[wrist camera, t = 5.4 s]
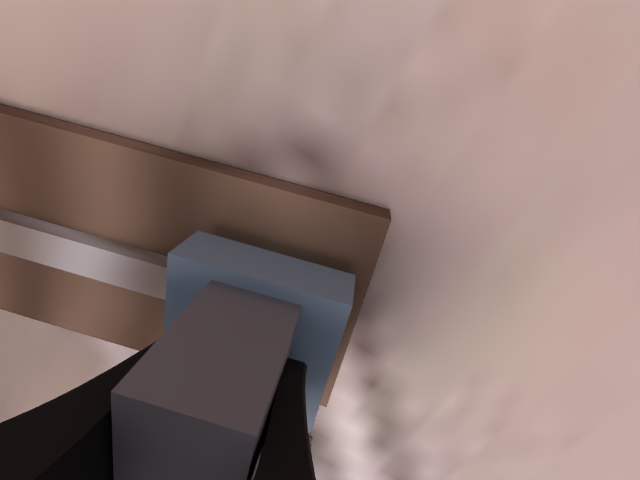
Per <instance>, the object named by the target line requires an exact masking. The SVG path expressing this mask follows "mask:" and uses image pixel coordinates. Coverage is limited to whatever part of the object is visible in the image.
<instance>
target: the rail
mask: <svg viewBox="0 0 640 480" xmlns="http://www.w3.org/2000/svg"><path fill="white" fill-rule="evenodd" d="M390 222H391V216H390V210H388V209H384V208H380V207H377V206H373V205H369V204H366V203H362V202H358V201H355V200H351V199H347V198H344V197H340V196H337V195H333V194H329V193H326V192H322V191H318V190H315V189H311V188H307V187H304V186H300V185H296V184H293V183H289V182H285V181H282V180H278V179H274V178H271V177H267V176H263V175H260V174H256V173H252V172H249V171H245V170H241V169H238V168H234V167H230V166H227V165H223V164H219V163H216V162H212V161H208V160H205V159H201V158H197V157H194V156H190V155H186V154H183V153H179V152H175V151H172V150H168V149H164V148H161V147H157V146H153V145H150V144H146V143H142V142H139V141H135V140H131V139H128V138H124V137H120V136H117V135H113V134H109V133H106V132H102V131H99V130H95V129H91V128H88V127H84V126H80V125H77V124H73V123H69V122H66V121H62V120H58V119H55V118H51V117H47V116H44V115H40V114H36V113H33V112H29V111H25V110H22V109H18V108H14V107H11V106H7V105H3V104H0V309H2V310H6V311H9V312H12V313H16V314H19V315H22V316H26V317H29V318H32V319H36V320H39V321H42V322H45V323H49V324H52V325H55V326H59V327H62V328H65V329H69V330H72V331H75V332H79V333H82V334H85V335H89V336H92V337H95V338H99V339H102V340H105V341H109V342H112V343H115V344H119V345H122V346H125V347H129V348H132V349H135V350H139V351H141V350H142V349H144V348H146V347H147V346H149V345H150V344H152V343H153V342H155V341H156V340H158V339H159V338H160V336H161V335H162V334H163V333H164V315H165V296H166V277H167V258H168V253H169V252H170V251H171V250H173V249H174V248H175V247H177V246H178V245H179V244H181V243H182V242H183V241H185V240H186V239H187V238H189V237H190V236H191V235H193V234H194V233H195V232H197V231H202V232H205V233H209V234H212V235H216V236H219V237H223V238H226V239H230V240H234V241H237V242H241V243H244V244H248V245H251V246H255V247H258V248H262V249H265V250H269V251H272V252H276V253H280V254H283V255H287V256H290V257H294V258H297V259H301V260H304V261H308V262H311V263H315V264H318V265H322V266H326V267H329V268H333V269H336V270H340V271H343V272H347V273H350V274H354V275H356V277H355V287H354V297H353V306H352V309H351V312H350V315H349V318H348V321H347V324H346V327H345V330H344V333H343V336H342V339H341V342H340V345H339V348H338V351H337V354H336V357H335V360H334V363H333V366H332V369H331V372H330V375H329V378H328V381H327V384H326V387H325V390H324V393H323V396H322V399H321V402H320V405H322V406H325V407H326V406H327V403H328V400H329V397H330V395H331V392H332V389H333V386H334V383H335V380H336V377H337V374H338V372H339V369H340V366H341V363H342V360H343V357H344V354H345V351H346V348H347V346H348V343H349V340H350V337H351V334H352V331H353V328H354V325H355V323H356V320H357V317H358V314H359V311H360V308H361V305H362V302H363V299H364V297H365V294H366V291H367V288H368V285H369V282H370V279H371V276H372V274H373V271H374V268H375V265H376V262H377V259H378V256H379V253H380V250H381V248H382V245H383V242H384V239H385V236H386V233H387V230H388V227H389V225H390Z"/></svg>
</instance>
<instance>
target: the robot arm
mask: <svg viewBox="0 0 640 480" xmlns="http://www.w3.org/2000/svg"><path fill="white" fill-rule="evenodd" d="M156 341H157V340H156ZM156 341H155V342H156ZM155 342H153V343H152V344H150V345H149V346H147V347H146V348H144V349H142V350H141V351H139V352H138V353H136V354H134V355H133V356H131V357H129V358H128V359H126V360H124V361H123V362H121V363H119V364H118V365H116V366H114V367H113V368H111V369H109V370H108V371H106V372H104V373H102V374H100V375H99V376H97V377H95V378H93V379H91V380H90V381H88V382H86V383H84V384H82V385H80V386H79V387H77V388H75V389H73V390H71V391H69V392H67V393H65V394H63V395H61V396H59V397H57V398H55V399H53V400H51V401H49V402H47V403H44V404H42V405H40V406H38V407H36V408H34V409H32V410H29V411H27V412H25V413H22V414H20V415H18V416H16V417H13V418H11V419H9V420H6V421H4V422H1V423H0V480H114V474H113V444H112V413H111V391H112V390H113V389H114V388H115V386H116V385H117V384H118V383H119V382H120V381H121V380H122V379H123V378H124V376H125V375H126V374H127V373H128V372H129V371H130V370H131V369H132V368H133V366H134V365H135V364H136V363H137V362H138V361H139V360H140V359H141V358H142V356H143V355H144V354H145V353H146V352H147V351H148V350H149V349H150V348H151V346H152V345H153V344H154V343H155ZM306 370H307V365H306V363H305V362H302V361H298V360H295V359H292V358H287V360H286V363H285V366H284V368H283V371H282V374H281V377H280V380H279V382H278V386H277V390H276V394H275V398H274V402H273V406H272V410H271V414H270V417H269V421H268V425H267V429H266V433H265V437H264V441H263V445H262V450H261V454H260V458H259V463H258V467H257V470H256V473H255V476H254V479H253V480H316V478H315V473H314V467H313V462H312V455H311V449H310V442H309V434H308V424H307V414H306V393H305V384H306Z"/></svg>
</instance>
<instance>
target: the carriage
mask: <svg viewBox="0 0 640 480" xmlns="http://www.w3.org/2000/svg"><path fill="white" fill-rule="evenodd" d="M355 277H356V275H354V274H350V273H347V272H343V271H340V270H336V269H333V268H329V267H326V266H322V265H318V264H315V263H311V262H308V261H304V260H301V259H297V258H294V257H290V256H287V255H283V254H280V253H276V252H272V251H269V250H265V249H262V248H258V247H255V246H251V245H248V244H244V243H241V242H237V241H234V240H230V239H226V238H223V237H219V236H216V235H212V234H209V233H205V232H202V231H197V232H195V233H194V234H193V235H191V236H190V237H189V238H187V239H186V240H185V241H183V242H182V243H181V244H179V245H178V246H177V247H175V248H174V249H173V250H171V251H170V252H169V253H168V258H167V277H166V296H165V315H164V333H163V334H162V335H161V336H160V338H159V339H158V340H157V341H156V342H155V343H154V344H153V345H152V346H151V348H150V349H149V350H148V351H147V352H146V353H145V354H144V355H143V356H142V358H141V359H140V360H139V361H138V362H137V363H136V364H135V365H134V366H133V368H132V369H131V370H130V371H129V372H128V373H127V374H126V375H125V376H124V378H123V379H122V380H121V381H120V382H119V383H118V384H117V385H116V386H115V388H114V389H113V390H112V391H111V413H112V444H113V474H114V480H253V479H254V476H255V473H256V470H257V466H258V463H259V458H260V454H261V450H262V445H263V441H264V437H265V433H266V429H267V425H268V421H269V417H270V414H271V410H272V406H273V402H274V398H275V394H276V390H277V386H278V382H279V380H280V377H281V374H282V371H283V368H284V366H285V363H286V360H287V358H292V359H295V360H298V361H302V362H305V363H306V365H307V370H306V384H305V393H306V414H307V424H308V433H310V432H311V429H312V426H313V423H314V420H315V417H316V414H317V411H318V408H319V405H320V402H321V399H322V396H323V393H324V390H325V387H326V384H327V381H328V378H329V375H330V372H331V369H332V366H333V363H334V360H335V357H336V354H337V351H338V348H339V345H340V342H341V339H342V336H343V333H344V330H345V327H346V324H347V321H348V318H349V315H350V312H351V309H352V306H353V297H354V287H355Z"/></svg>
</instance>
